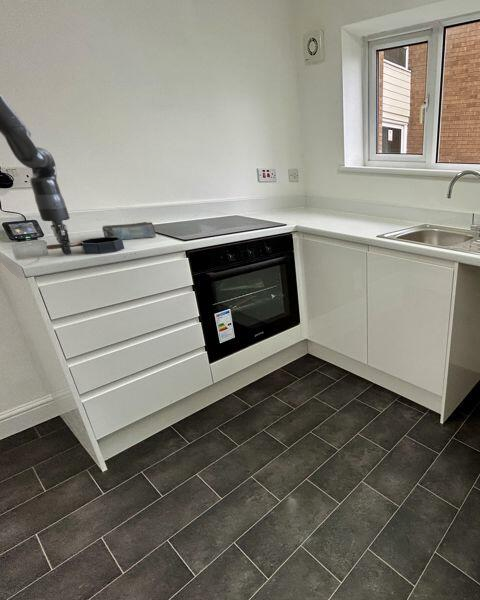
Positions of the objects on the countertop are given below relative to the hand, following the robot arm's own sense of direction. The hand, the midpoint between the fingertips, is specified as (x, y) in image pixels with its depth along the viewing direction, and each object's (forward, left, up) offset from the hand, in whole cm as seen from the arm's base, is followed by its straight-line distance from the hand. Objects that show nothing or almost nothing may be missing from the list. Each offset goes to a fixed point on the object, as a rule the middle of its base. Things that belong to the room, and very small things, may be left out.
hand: (67, 253), depth 133 cm
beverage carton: (+25, +20, -1) cm, 32 cm away
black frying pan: (+6, 0, -1) cm, 6 cm away
